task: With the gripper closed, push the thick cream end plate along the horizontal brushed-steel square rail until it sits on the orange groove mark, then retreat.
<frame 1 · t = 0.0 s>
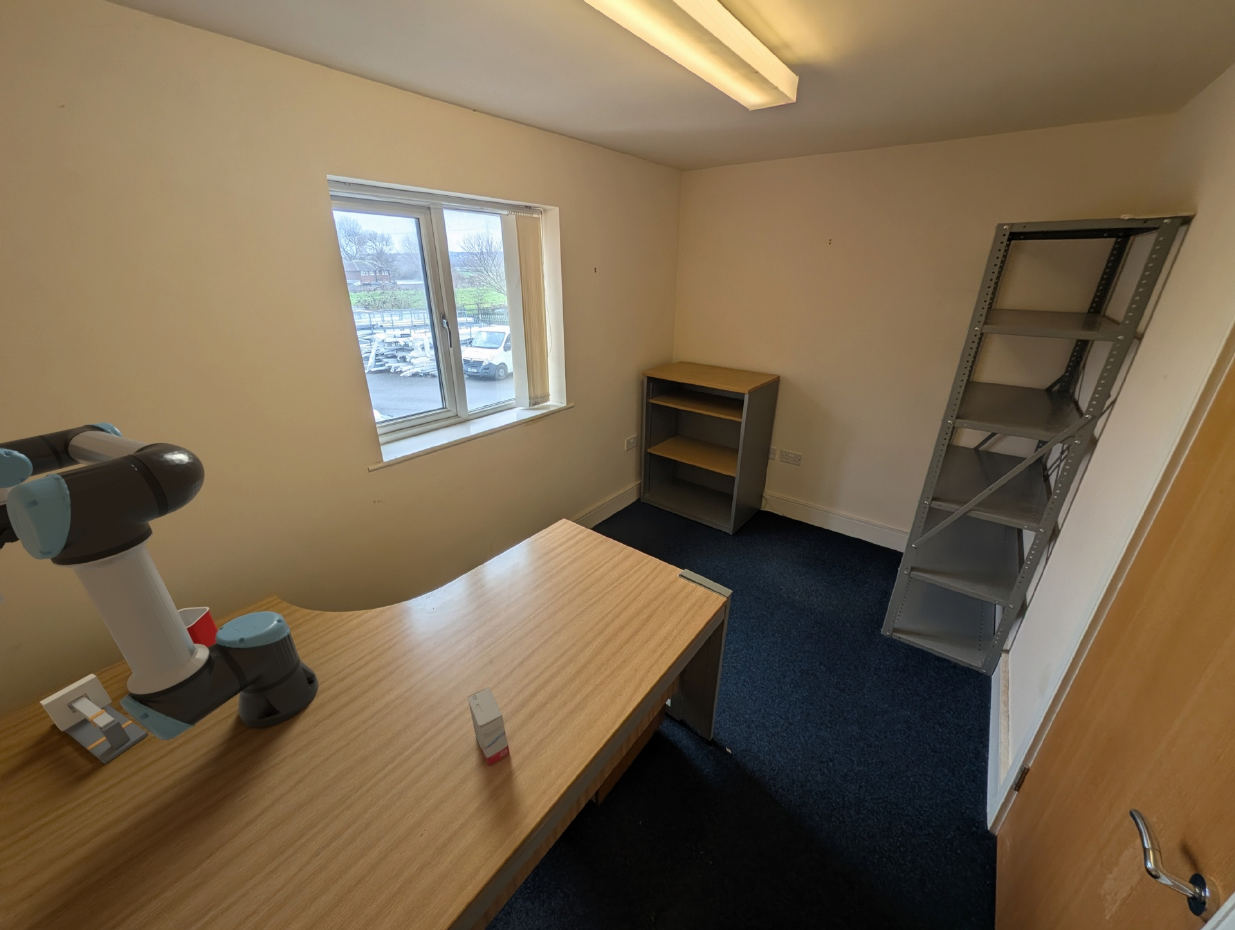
hand: (48, 583, 103), 28 cm above the table, fingers open, 13 cm apart
grey slide rail: (100, 728, 100), on the table
mug: (191, 650, 121), on the table
thick cream end plate: (77, 701, 99), point 6 cm above the table, slide at 0.0 cm
ink box: (491, 745, 96), on the table
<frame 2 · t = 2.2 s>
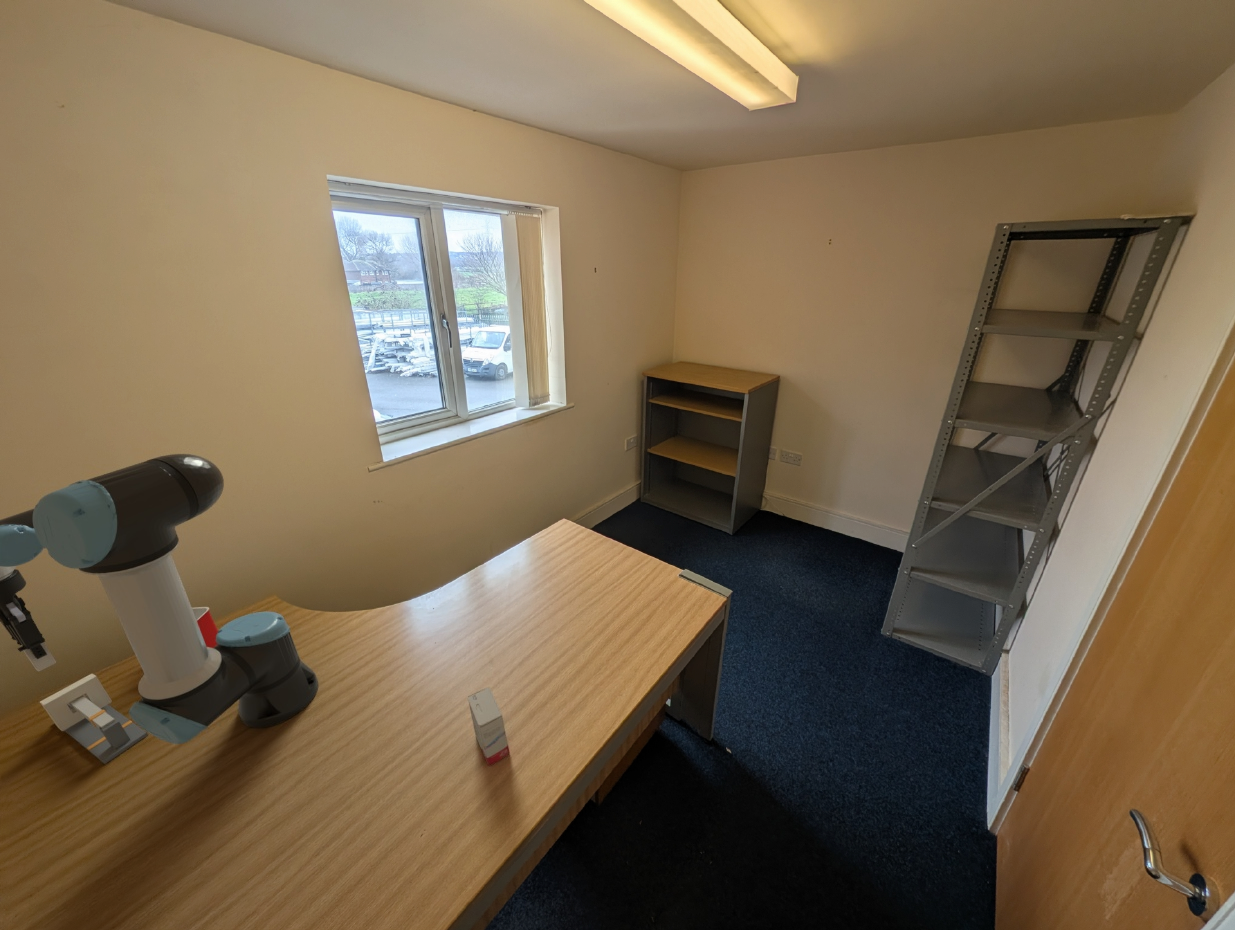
hand: (46, 665, 99), 14 cm above the table, fingers closed
nothing on the table moved.
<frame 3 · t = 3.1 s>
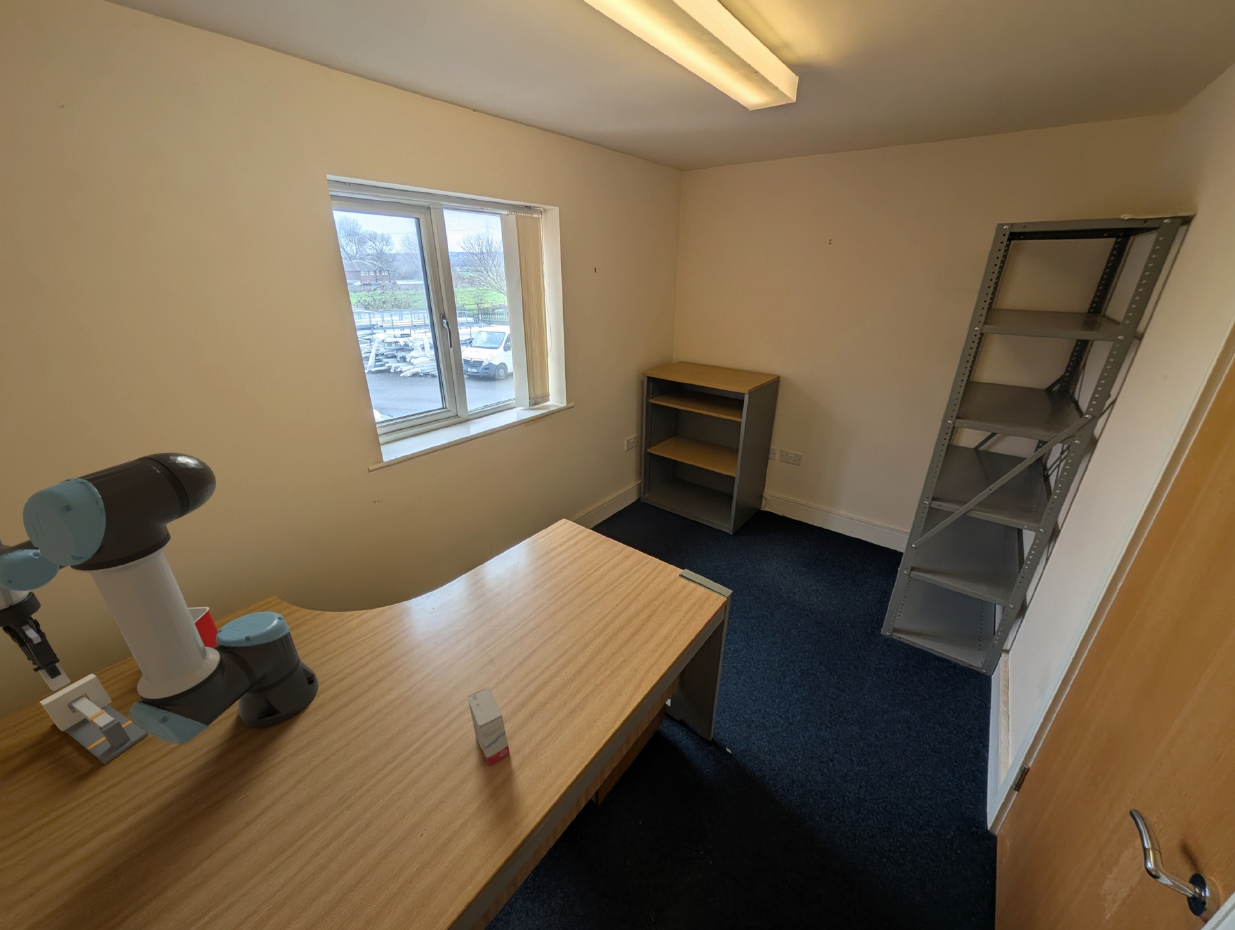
hand: (60, 685, 101), 8 cm above the table, fingers closed
nothing on the table moved.
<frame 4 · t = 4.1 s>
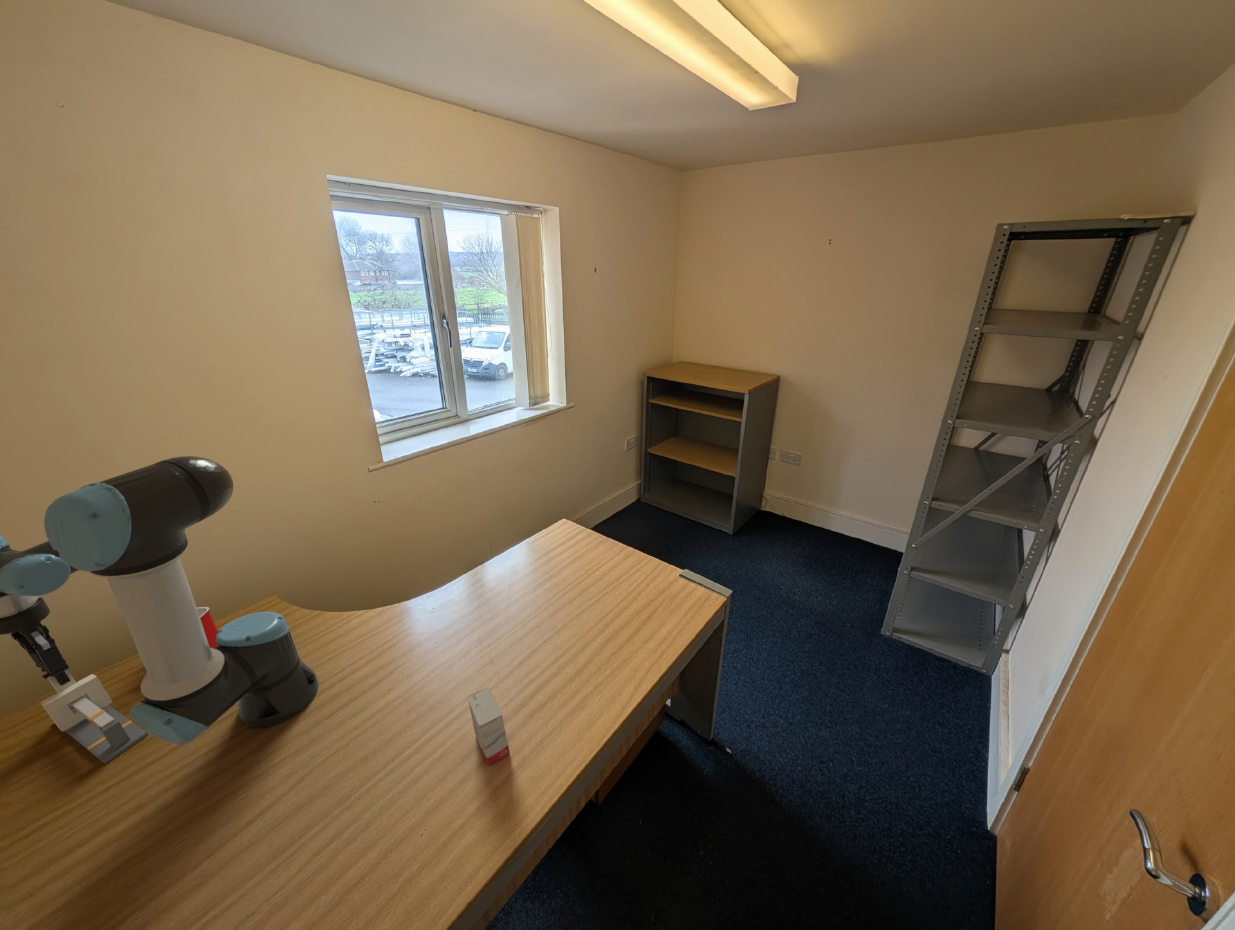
hand: (70, 692, 99), 8 cm above the table, fingers closed
thick cream end plate: (78, 702, 99), point 6 cm above the table, slide at 0.3 cm, touching gripper
everything else where it was.
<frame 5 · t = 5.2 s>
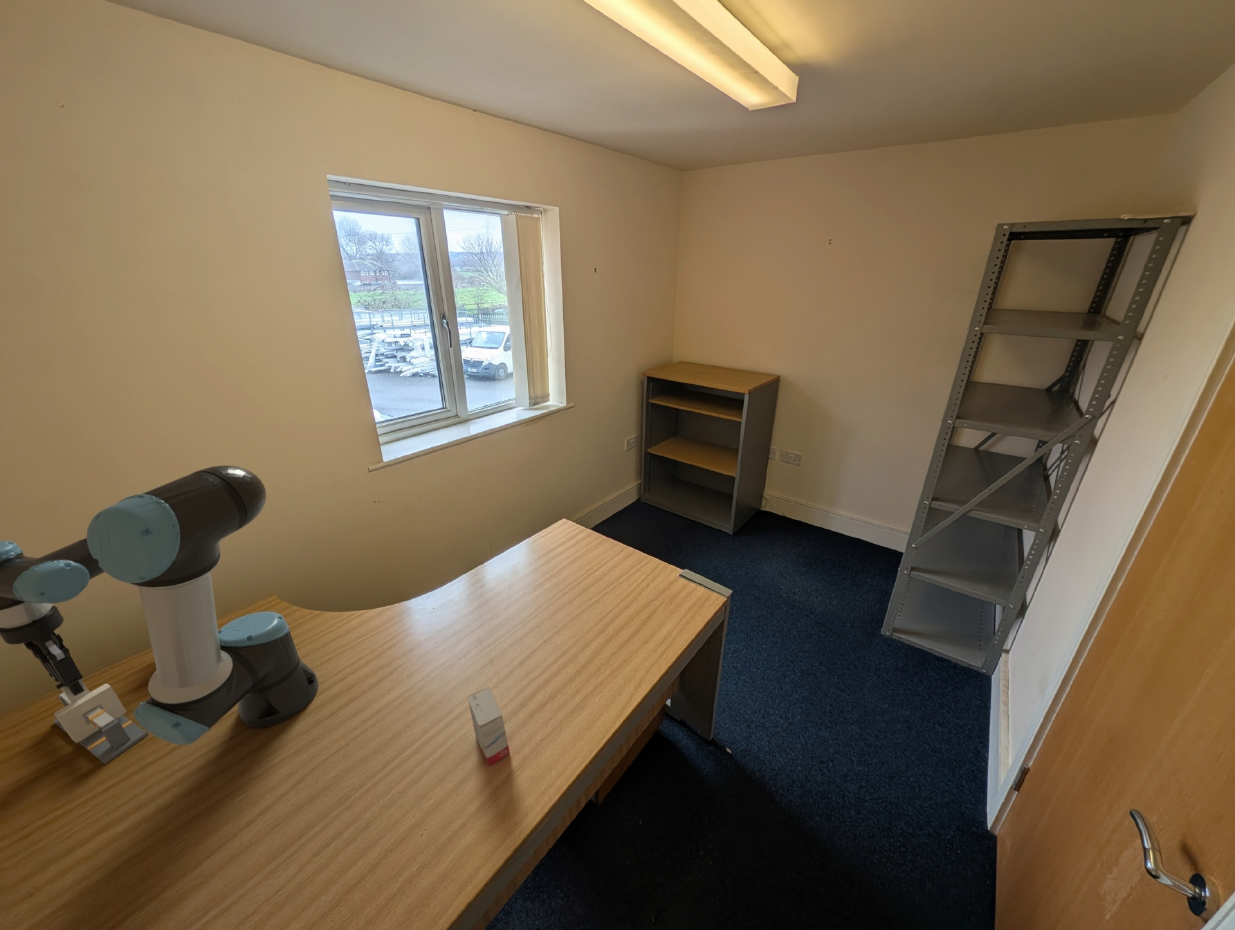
hand: (83, 702, 97), 8 cm above the table, fingers closed
thick cream end plate: (91, 712, 97), point 6 cm above the table, slide at 6.6 cm, touching gripper
everything else where it was.
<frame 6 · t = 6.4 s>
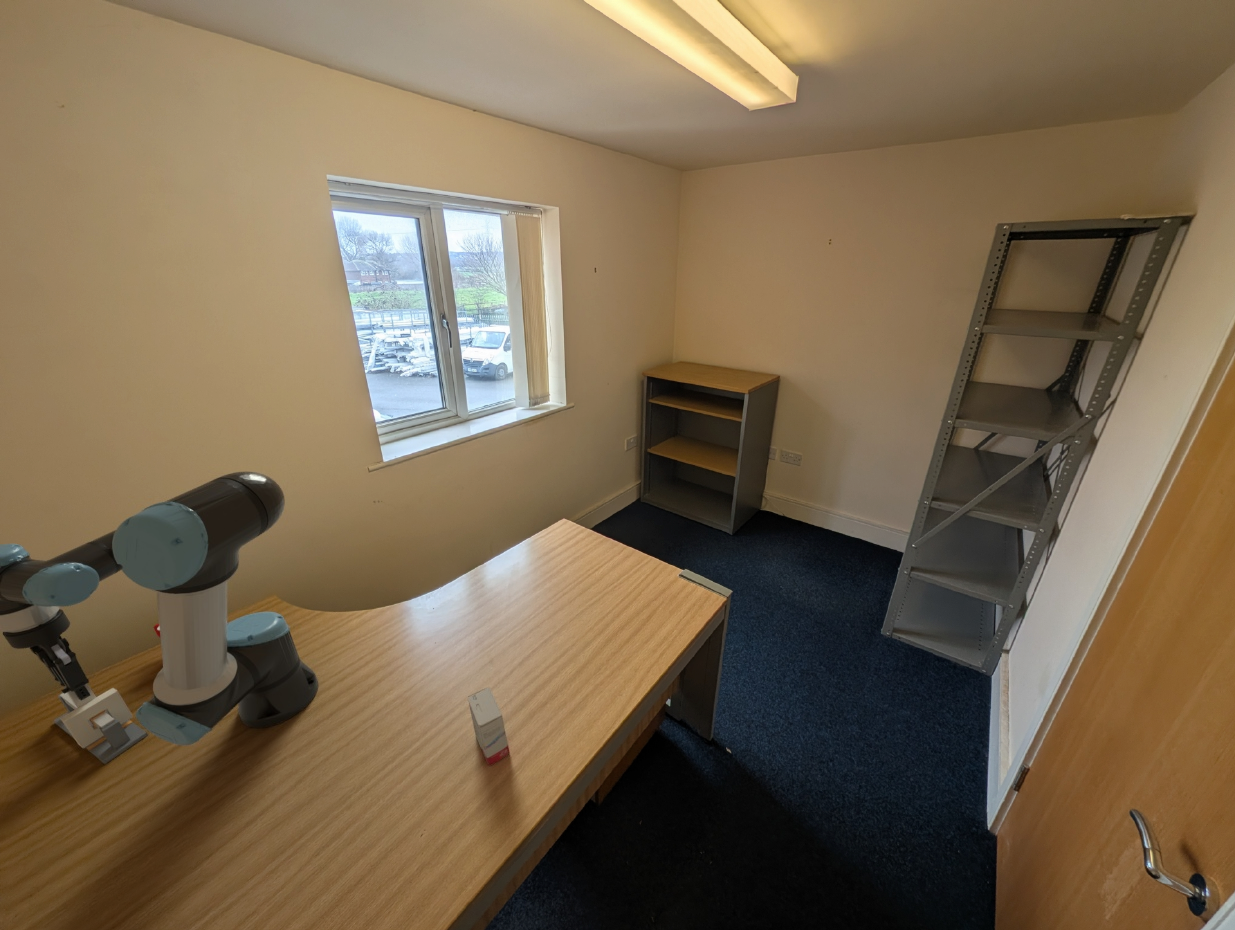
hand: (89, 706, 96), 8 cm above the table, fingers closed
thick cream end plate: (98, 717, 96), point 6 cm above the table, slide at 9.5 cm, touching gripper
everything else where it was.
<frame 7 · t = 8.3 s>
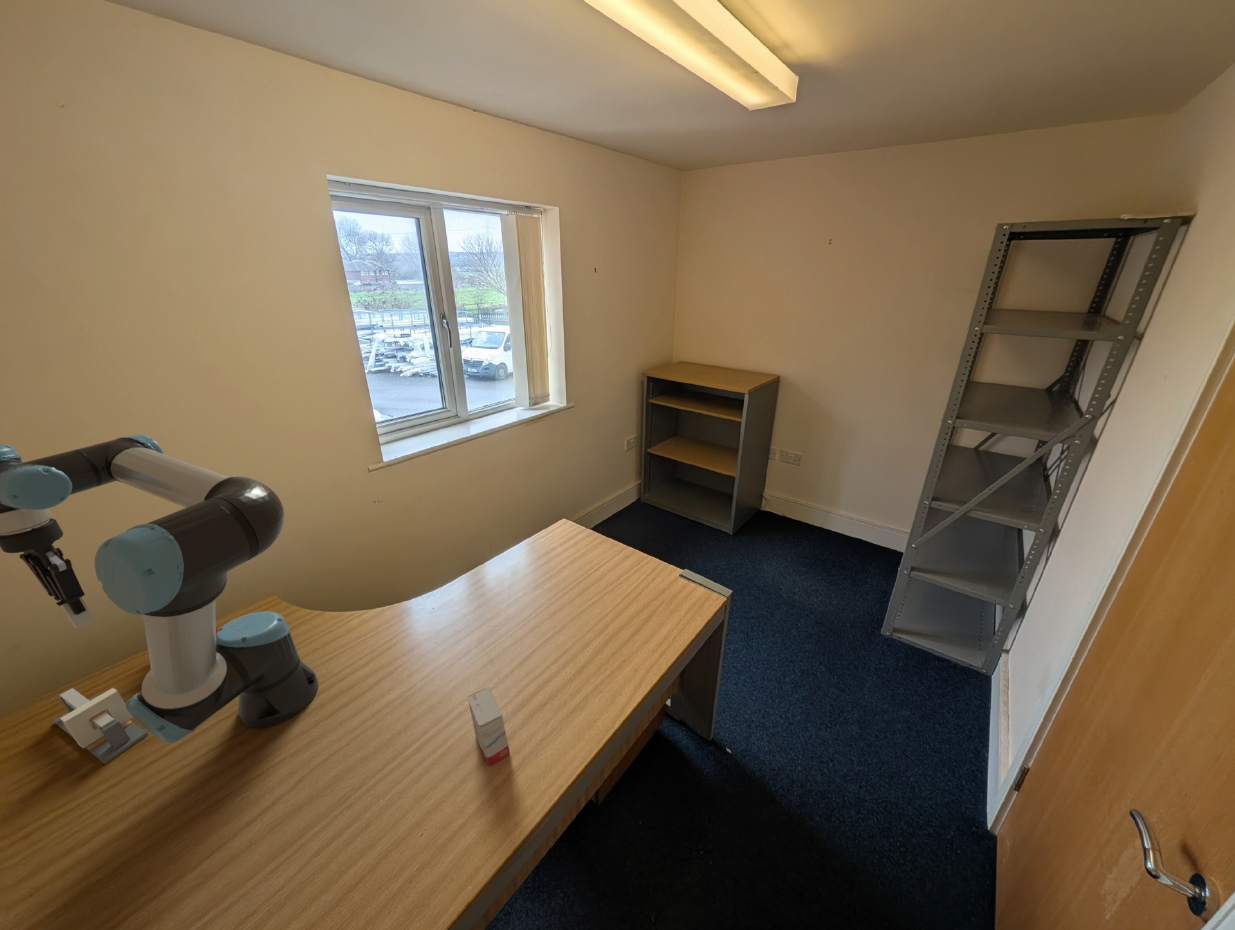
hand: (84, 623, 94), 26 cm above the table, fingers closed
thick cream end plate: (98, 717, 96), point 6 cm above the table, slide at 9.5 cm
everything else where it was.
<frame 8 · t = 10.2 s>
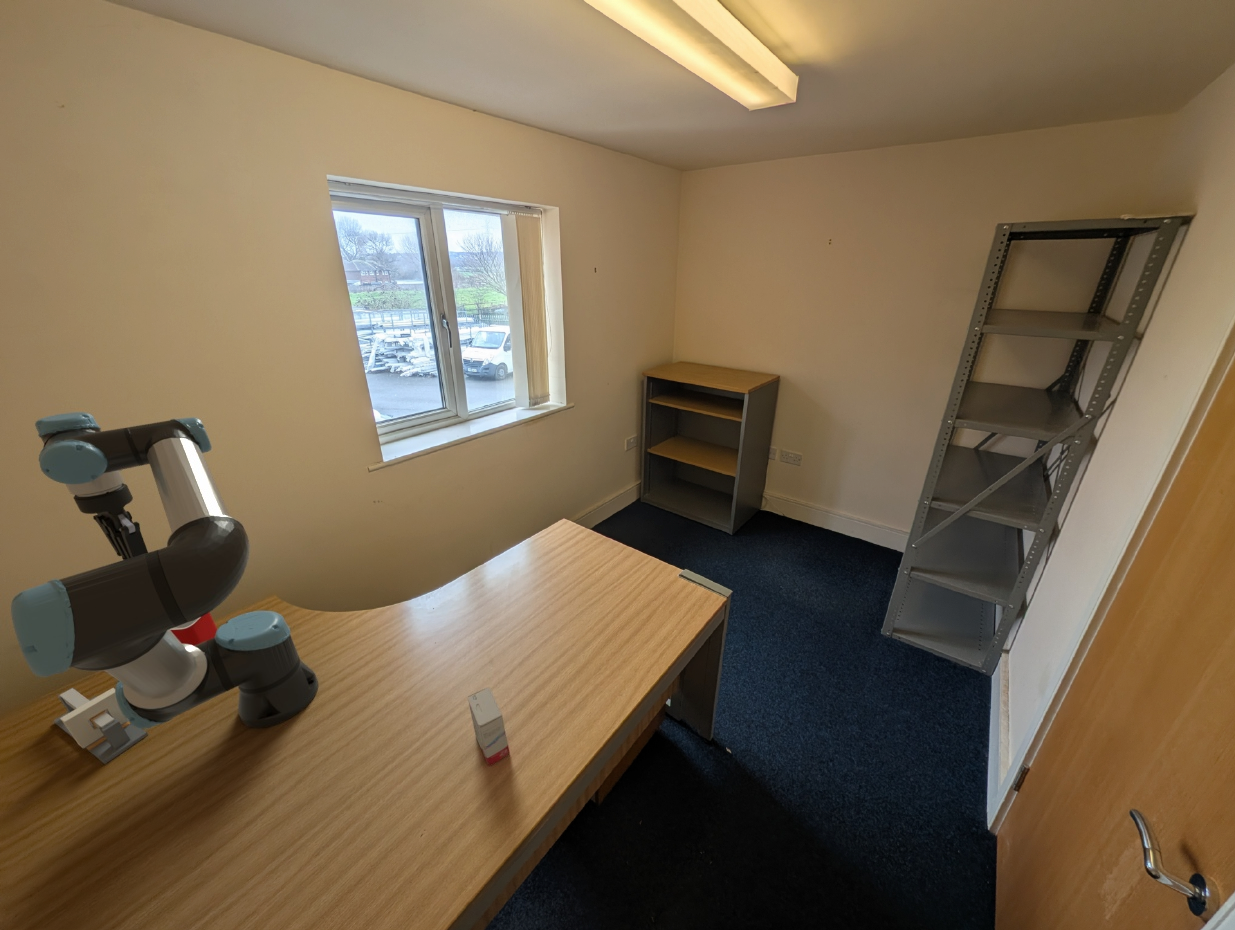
hand: (147, 583, 100), 29 cm above the table, fingers closed
nothing on the table moved.
at the end: thick cream end plate slide at 9.5 cm; the gripper is holding nothing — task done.
